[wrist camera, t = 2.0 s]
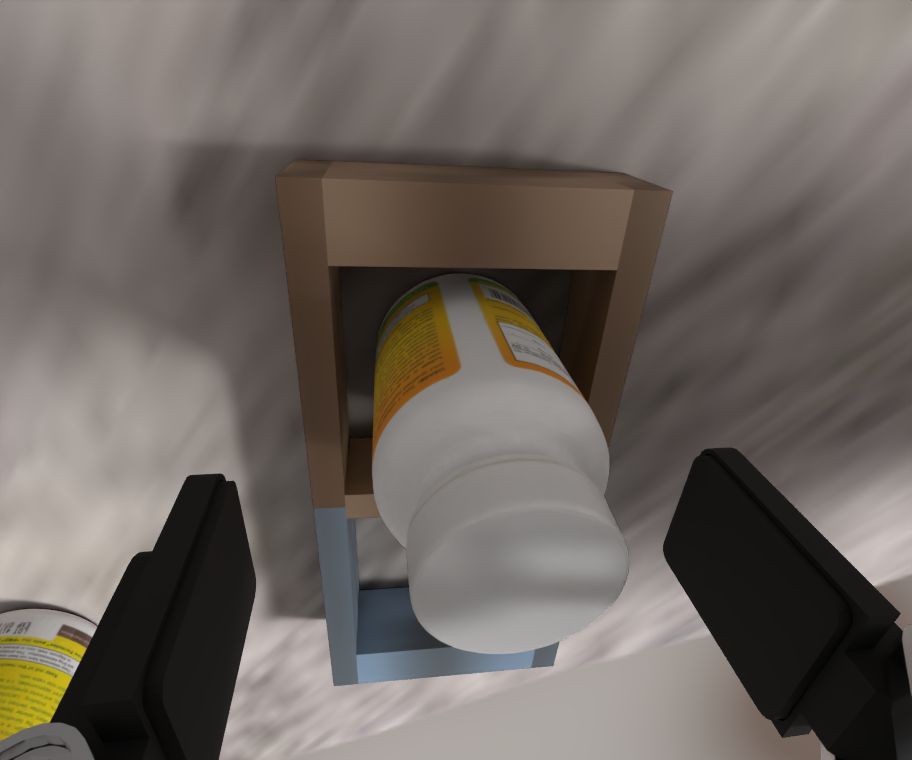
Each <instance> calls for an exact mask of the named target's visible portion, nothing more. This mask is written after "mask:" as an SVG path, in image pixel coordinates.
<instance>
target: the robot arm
mask: <svg viewBox="0 0 912 760" xmlns="http://www.w3.org/2000/svg"><path fill="white" fill-rule="evenodd" d="M663 552H664V556H665V559H666V561H667V563H668V565H669V566H670V568H671V569H672V571H673V573H674V574H675V576H676V577H677V579H678V581H679V582H680V584H681V586H682V587H683V589H684V590H685V592H686V594H687V595H688V597H689V599H690V600H691V602H692V603H693V605H694V607H695V608H696V610H697V611H698V613H699V615H700V616H701V618H702V620H703V621H704V623H705V624H706V626H707V628H708V629H709V631H710V632H711V634H712V636H713V637H714V639H715V641H716V642H717V644H718V645H719V647H720V649H721V650H722V652H723V654H724V655H725V657H726V658H727V660H728V662H729V663H730V665H731V666H732V668H733V670H734V671H735V673H736V675H737V676H738V678H739V679H740V681H741V683H742V684H743V686H744V688H745V689H746V691H747V692H748V694H749V696H750V697H751V699H752V700H753V702H754V704H755V705H756V707H757V708H758V710H759V711H760V712H761V714H762V715H763V716H765V718H767V719H769V720H771V721H772V722H773V724H774V726H775V727H776V729H777V730H778V732H779V734H780V735H781V737H782V738H785V737H790V736H798V735H805V734H809V732H810V731H811V730H812V729H813V731H814V732H815V734H816V735H817V737H818V738H819V740H820V741H821V760H912V624H909V625H908V626H907V627H906V628H905V629H904V630H903V631H902V630H901V629H900V628H899V627H898V626H897V625H896V624H895V623H894V622H895V621H896V619H897V618H898V617H899V615H900V612H899V611H898V610H896V609H895V607H894V606H893V605H892V604H891V603H890V602H889V601H888V600H887V599H886V598H884V596H883V595H882V594H881V593H879V591H878V590H877V589H876V588H875V587H874V586H873V585H872V584H871V583H870V582H869V581H868V580H867V579H866V578H865V577H864V576H863V575H862V574H861V573H860V572H859V571H858V570H857V569H856V568H855V567H854V566H853V565H852V564H851V563H850V562H849V561H848V560H847V559H846V558H845V557H844V556H843V555H842V554H841V553H840V552H839V551H838V550H837V549H836V548H835V547H834V546H833V545H832V544H831V543H830V542H829V541H828V540H827V539H826V538H825V537H824V536H823V535H822V534H821V533H820V532H819V531H818V530H817V529H816V528H815V527H814V526H813V525H812V524H811V523H810V522H809V521H808V520H807V519H806V518H805V517H804V516H803V515H802V514H801V513H800V512H799V511H798V510H797V509H796V508H795V507H794V506H793V505H792V504H791V503H790V502H789V501H788V500H787V499H786V498H785V497H784V496H783V495H782V494H781V493H780V492H779V491H778V490H777V489H776V488H775V487H774V486H773V485H772V484H771V483H770V482H769V481H768V480H767V479H766V478H765V477H764V476H763V475H762V474H761V473H760V472H759V471H758V470H757V469H756V468H755V467H754V466H753V465H752V464H751V463H750V462H749V461H748V460H747V459H746V458H745V457H744V456H743V455H742V454H741V453H740V452H739V451H738V450H736V449H734V448H714V449H705V450H704V451H702V452H701V454H700V456H698V457H696V458H695V460H694V461H693V464H692V467H691V470H690V472H689V475H688V478H687V481H686V483H685V486H684V489H683V491H682V494H681V497H680V500H679V502H678V505H677V508H676V511H675V513H674V516H673V519H672V522H671V524H670V527H669V530H668V533H667V535H666V538H665V541H664V544H663ZM255 592H256V577H255V572H254V567H253V562H252V558H251V553H250V548H249V543H248V539H247V534H246V529H245V524H244V520H243V515H242V510H241V505H240V501H239V496H238V491H237V487H236V483H235V482H234V481H226V479H225V477H224V475H223V474H203V475H190V476H188V477H187V478H186V480H185V482H184V484H183V486H182V488H181V490H180V492H179V495H178V497H177V499H176V501H175V503H174V505H173V508H172V510H171V512H170V514H169V516H168V518H167V521H166V523H165V525H164V527H163V529H162V531H161V534H160V536H159V538H158V540H157V542H156V544H155V547H154V549H153V551H149V552H140V553H138V554H136V555H135V556H134V557H133V558H132V560H131V562H130V563H129V565H128V567H127V569H126V571H125V573H124V575H123V577H122V579H121V581H120V583H119V585H118V587H117V589H116V591H115V593H114V595H113V597H112V599H111V601H110V603H109V605H108V607H107V609H106V611H105V613H104V615H103V617H102V619H101V621H100V623H99V625H98V627H97V629H96V631H95V633H94V635H93V637H92V639H91V641H90V643H89V645H88V647H87V649H86V651H85V653H84V655H83V657H82V659H81V661H80V663H79V665H78V667H77V669H76V671H75V673H74V675H73V677H72V679H71V681H70V683H69V685H68V687H67V689H66V691H65V693H64V695H63V697H62V699H61V701H60V703H59V705H58V707H57V709H56V711H55V713H54V715H53V717H52V719H51V721H50V723H42V724H39V725H36V726H33V727H29V728H26V729H23V730H21V731H19V732H17V733H15V734H13V735H11V736H9V737H8V738H6V739H4V740H2V741H0V760H219V755H220V751H221V746H222V742H223V737H224V733H225V728H226V724H227V719H228V715H229V710H230V706H231V701H232V697H233V692H234V688H235V683H236V679H237V675H238V670H239V666H240V661H241V657H242V652H243V648H244V643H245V639H246V634H247V630H248V625H249V621H250V616H251V612H252V607H253V603H254V598H255Z"/></svg>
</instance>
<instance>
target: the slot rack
mask: <svg viewBox="0 0 912 760" xmlns="http://www.w3.org/2000/svg"><path fill="white" fill-rule="evenodd" d="M275 179H276V188H277V196H278V205H279V214H280V222H281V231H282V240H283V248H284V257H285V266H286V275H287V283H288V292H289V301H290V309H291V318H292V327H293V335H294V344H295V353H296V362H297V370H298V379H299V388H300V396H301V405H302V414H303V422H304V431H305V440H306V449H307V457H308V466H309V475H310V483H311V492H312V501H313V509H314V518H315V527H316V536H317V544H318V553H319V562H320V570H321V579H322V588H323V596H324V605H325V614H326V623H327V631H328V640H329V649H330V657H331V666H332V675H333V683H334V686H340V685H351V684H362V683H373V682H384V681H395V680H405V679H416V678H427V677H438V676H449V675H460V674H471V673H482V672H493V671H504V670H515V669H525V668H536V667H547V666H553V665H554V661H555V657H556V653H557V649H558V645H559V642H557V643H554V644H551V645H549V646H545V647H542V648H538V649H534V650H530V651H525V652H520V653H511V654H484V653H476V652H470V651H464V650H461V649H457V648H454V647H452V646H450V645H447V644H445V643H443V642H441V641H439V640H438V639H436V638H435V637H434V636H432V635H431V634H430V633H428V632H427V631H426V630H425V629H424V627H423V626H422V625H421V624H420V623H419V621H418V619H417V617H416V615H415V613H414V611H413V608H412V604H411V599H410V592H409V587H404V588H390V589H375V590H360V591H359V576H358V560H357V544H356V527H355V518H370V517H381V516H380V513H379V511H378V508H377V505H376V501H375V497H374V490H373V479H372V450H373V446H372V444H373V438H353V439H350V429H349V413H348V396H347V380H346V364H345V347H344V331H343V315H342V298H341V282H340V266H369V267H436V268H503V269H571V270H574V274H573V280H572V285H571V291H570V297H569V303H568V309H567V314H566V320H565V326H564V332H563V337H562V343H561V349H560V355H559V359H560V361H561V363H562V364H563V366H564V368H565V369H566V371H567V372H568V374H569V375H570V377H571V378H572V380H573V381H574V383H575V385H576V386H577V388H578V389H579V391H580V392H581V394H582V395H583V397H584V398H585V400H586V401H587V403H588V405H589V406H590V408H591V410H592V411H593V413H594V415H595V417H596V419H597V421H598V423H599V425H600V427H601V429H602V432H603V434H604V437H605V440H606V443H607V447H609V443H610V439H611V435H612V431H613V427H614V423H615V419H616V415H617V411H618V407H619V403H620V399H621V395H622V391H623V387H624V383H625V379H626V375H627V371H628V367H629V363H630V360H631V356H632V352H633V348H634V344H635V340H636V336H637V332H638V328H639V324H640V320H641V316H642V312H643V308H644V304H645V300H646V296H647V292H648V288H649V284H650V280H651V276H652V272H653V268H654V264H655V260H656V256H657V252H658V248H659V245H660V241H661V237H662V233H663V229H664V225H665V221H666V217H667V213H668V209H669V205H670V201H671V197H672V193H673V191H670V190H668V189H665V188H662V187H660V186H657V185H654V184H652V183H649V182H646V181H644V180H641V179H638V178H636V177H633V176H630V175H628V174H625V173H611V172H587V171H563V170H539V169H515V168H491V167H466V166H442V165H418V164H394V163H370V162H346V161H322V160H298V159H295V160H294V161H293V162H292V163H291V164H289V165H288V166H287V167H286V168H285V169H284V170H283V171H281V172H280V173H279V174H278V175H277V176H276V177H275Z"/></svg>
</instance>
